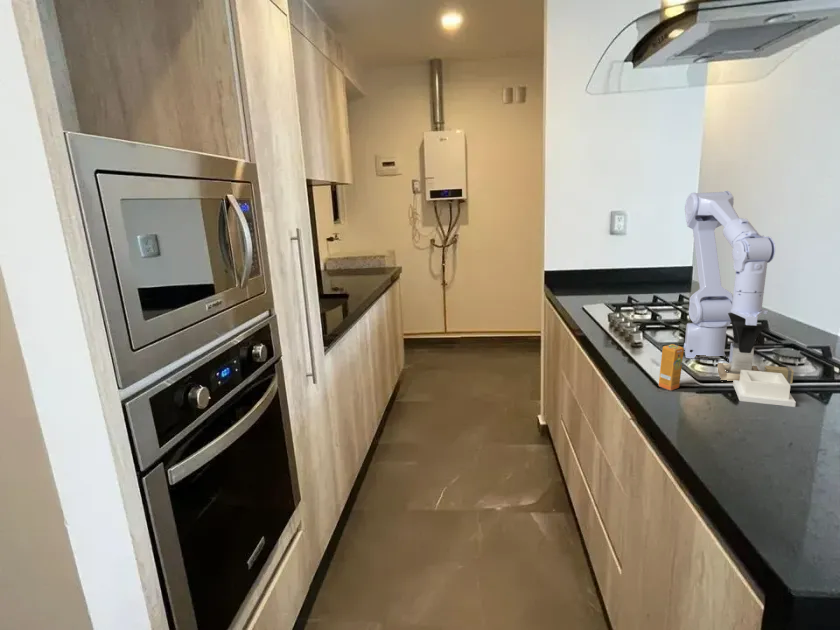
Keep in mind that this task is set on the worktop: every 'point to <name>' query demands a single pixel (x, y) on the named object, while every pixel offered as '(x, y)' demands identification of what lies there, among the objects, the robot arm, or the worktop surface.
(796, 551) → the worktop surface
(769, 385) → the white square socket
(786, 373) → the tan rectangular block
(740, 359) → the steel peg
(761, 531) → the worktop surface
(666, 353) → the supplement box
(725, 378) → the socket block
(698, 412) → the worktop surface
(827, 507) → the worktop surface
